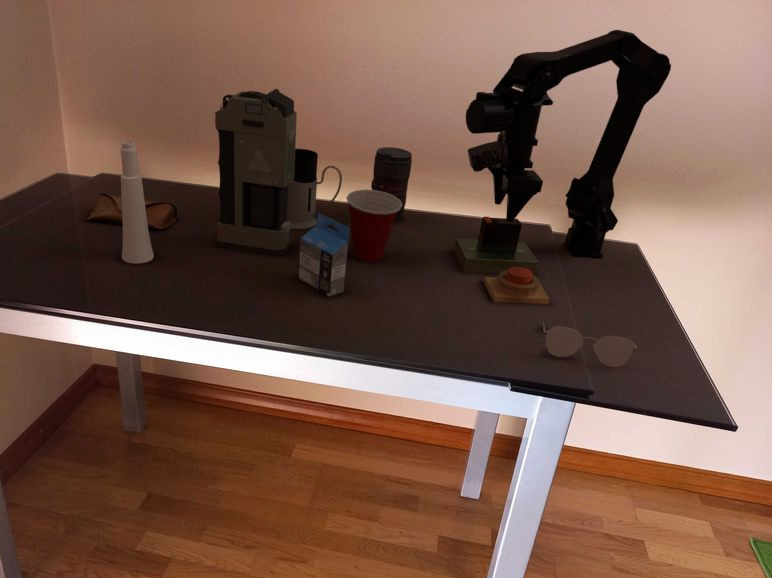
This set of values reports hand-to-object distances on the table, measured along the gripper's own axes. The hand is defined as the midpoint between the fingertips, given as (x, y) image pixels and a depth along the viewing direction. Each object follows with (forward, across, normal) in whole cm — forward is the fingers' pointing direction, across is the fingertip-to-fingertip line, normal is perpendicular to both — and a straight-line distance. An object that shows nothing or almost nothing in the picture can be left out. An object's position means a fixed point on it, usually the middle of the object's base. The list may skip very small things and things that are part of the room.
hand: (503, 212), depth 134 cm
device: (+11, -4, -48) cm, 49 cm away
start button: (+8, +13, +1) cm, 15 cm away
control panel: (+11, 0, 0) cm, 11 cm away
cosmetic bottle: (+10, +4, -70) cm, 71 cm away
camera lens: (+11, -23, -19) cm, 32 cm away
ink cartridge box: (+11, +13, -35) cm, 39 cm away
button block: (+11, +13, +1) cm, 17 cm away
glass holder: (+11, -17, -37) cm, 42 cm away
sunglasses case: (+10, -14, -75) cm, 77 cm away
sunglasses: (+11, +32, +7) cm, 35 cm away
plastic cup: (+11, -1, -25) cm, 27 cm away
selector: (+8, 0, 0) cm, 8 cm away
